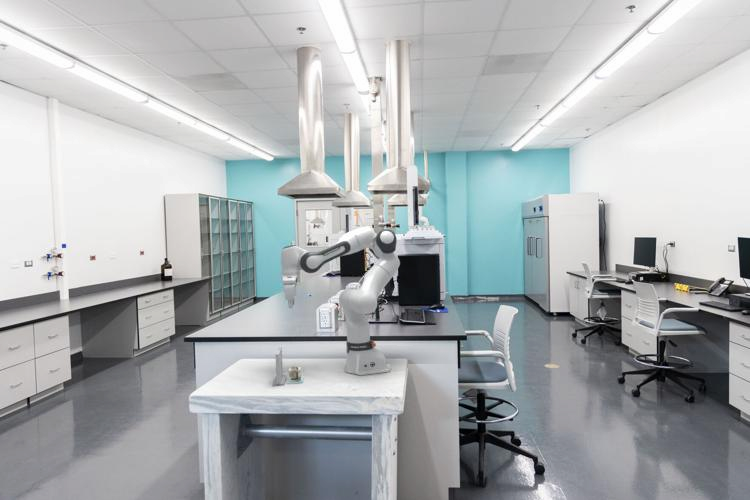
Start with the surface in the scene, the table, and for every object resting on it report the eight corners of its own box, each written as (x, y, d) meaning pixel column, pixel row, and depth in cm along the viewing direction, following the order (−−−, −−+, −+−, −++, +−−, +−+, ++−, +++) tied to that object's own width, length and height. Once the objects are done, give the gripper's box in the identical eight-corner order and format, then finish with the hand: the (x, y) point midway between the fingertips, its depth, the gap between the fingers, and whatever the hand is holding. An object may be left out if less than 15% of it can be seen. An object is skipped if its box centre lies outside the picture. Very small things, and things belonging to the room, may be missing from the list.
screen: (286, 376, 212) (285, 347, 212) (284, 385, 200) (282, 354, 200) (275, 377, 212) (274, 347, 211) (272, 385, 200) (271, 354, 199)
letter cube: (301, 377, 209) (300, 366, 208) (300, 381, 204) (300, 369, 203) (290, 378, 208) (289, 367, 208) (289, 381, 203) (288, 370, 203)
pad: (303, 378, 210) (303, 376, 210) (302, 383, 203) (302, 381, 203) (288, 378, 209) (288, 377, 209) (286, 384, 202) (286, 382, 202)
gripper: (286, 276, 232) (287, 303, 232) (281, 280, 211) (282, 310, 212) (298, 276, 232) (299, 302, 233) (295, 280, 212) (296, 309, 212)
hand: (291, 306), depth 222 cm, fingers open, 8 cm apart
